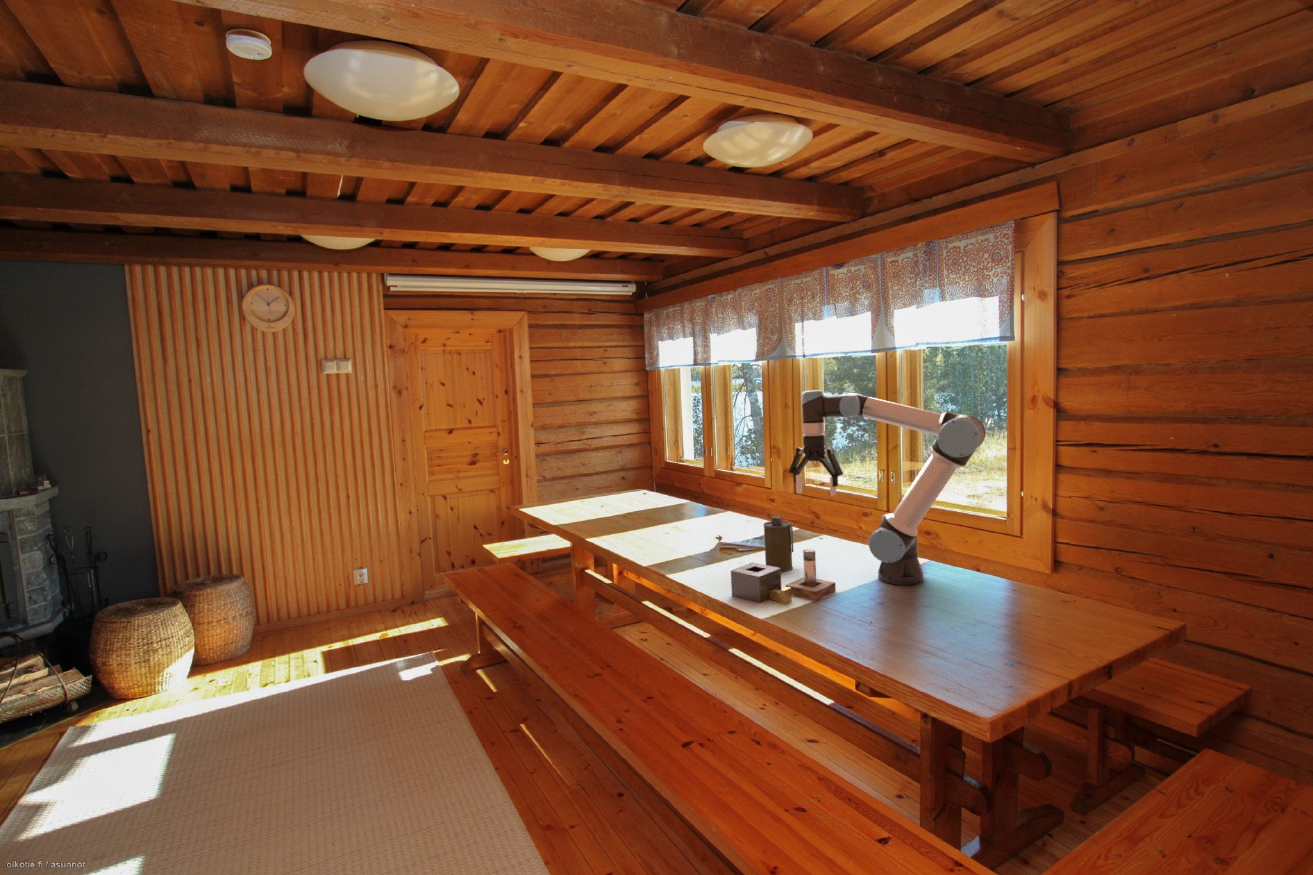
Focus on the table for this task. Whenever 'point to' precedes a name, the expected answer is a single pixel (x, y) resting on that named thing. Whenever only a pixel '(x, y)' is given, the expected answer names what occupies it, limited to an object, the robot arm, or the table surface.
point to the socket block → (755, 581)
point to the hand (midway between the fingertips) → (816, 494)
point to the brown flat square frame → (811, 589)
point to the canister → (778, 543)
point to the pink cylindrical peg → (809, 568)
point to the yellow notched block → (780, 595)
